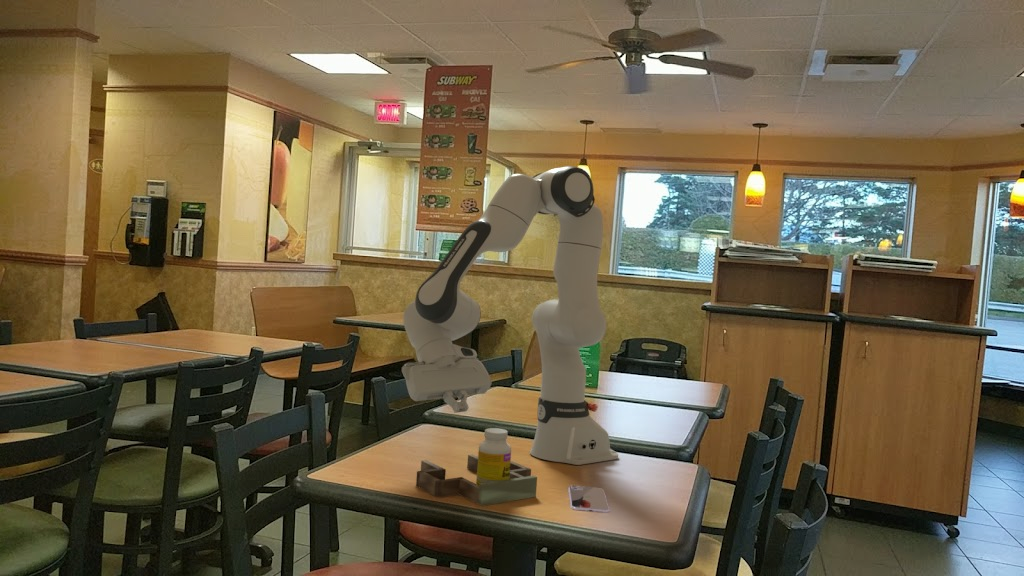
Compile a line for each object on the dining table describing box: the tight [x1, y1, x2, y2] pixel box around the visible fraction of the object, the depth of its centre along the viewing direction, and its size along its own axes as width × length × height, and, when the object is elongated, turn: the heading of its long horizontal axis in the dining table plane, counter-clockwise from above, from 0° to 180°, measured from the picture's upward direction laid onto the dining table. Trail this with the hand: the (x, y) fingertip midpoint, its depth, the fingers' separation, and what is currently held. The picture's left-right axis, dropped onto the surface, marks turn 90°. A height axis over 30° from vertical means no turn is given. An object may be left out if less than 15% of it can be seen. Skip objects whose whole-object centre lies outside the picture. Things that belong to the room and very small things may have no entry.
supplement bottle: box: [475, 427, 512, 485], centre depth 146 cm, size 7×7×13 cm
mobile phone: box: [568, 485, 610, 513], centre depth 147 cm, size 8×1×15 cm
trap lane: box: [415, 454, 538, 507], centre depth 151 cm, size 23×23×4 cm
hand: (461, 410), depth 158 cm, fingers closed
